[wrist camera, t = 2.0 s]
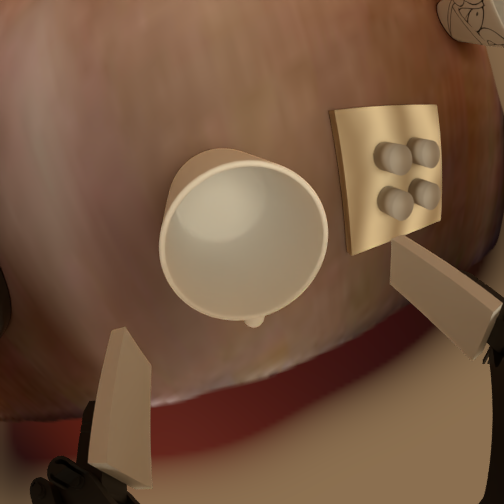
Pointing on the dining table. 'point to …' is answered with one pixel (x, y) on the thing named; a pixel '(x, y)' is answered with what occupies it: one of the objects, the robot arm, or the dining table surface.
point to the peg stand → (387, 171)
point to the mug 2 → (473, 21)
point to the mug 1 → (240, 235)
